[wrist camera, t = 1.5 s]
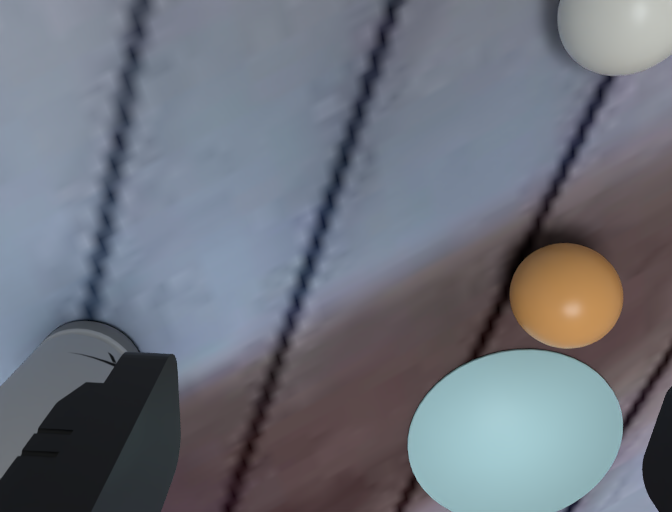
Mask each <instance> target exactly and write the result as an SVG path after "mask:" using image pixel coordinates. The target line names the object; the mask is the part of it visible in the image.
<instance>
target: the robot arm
mask: <svg viewBox="0 0 672 512" xmlns="http://www.w3.org/2000/svg"><path fill="white" fill-rule="evenodd" d="M180 437H181V431H180V410H179V391H178V371H177V361H176V358H175V356H174V355H173V354H160V353H141V352H125V353H123V354H122V356H121V357H120V358H119V360H118V362H117V363H116V365H115V366H114V368H113V369H112V371H111V372H110V374H109V376H108V377H107V379H106V380H105V382H104V383H95V382H85V383H84V384H82V385H81V386H80V387H78V388H77V389H75V390H74V391H72V392H71V393H70V394H68V395H67V396H65V397H64V398H62V399H61V400H60V401H58V402H57V403H56V404H55V406H54V407H53V408H52V410H51V411H50V412H49V414H48V415H47V416H46V418H45V419H44V420H43V422H42V423H41V425H40V426H39V427H38V432H37V433H34V434H33V435H32V437H31V438H30V440H29V441H28V442H27V444H26V445H25V446H24V448H23V449H22V454H21V456H17V457H16V459H15V460H14V461H13V463H12V464H11V465H10V467H9V468H8V470H7V471H6V472H5V474H4V475H3V476H2V478H1V479H0V512H161V510H162V507H163V504H164V501H165V499H166V496H167V493H168V490H169V487H170V485H171V482H172V479H173V476H174V473H175V470H176V466H177V462H178V456H179V450H180ZM642 471H643V480H644V484H645V487H646V490H647V493H648V495H649V497H650V499H651V500H652V502H653V503H654V505H655V506H656V508H657V509H658V511H659V512H672V387H671V388H670V389H669V390H668V392H667V393H666V396H665V398H664V401H663V404H662V407H661V410H660V412H659V415H658V418H657V421H656V424H655V427H654V429H653V432H652V435H651V438H650V441H649V444H648V446H647V449H646V452H645V455H644V459H643V466H642Z"/></svg>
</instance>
